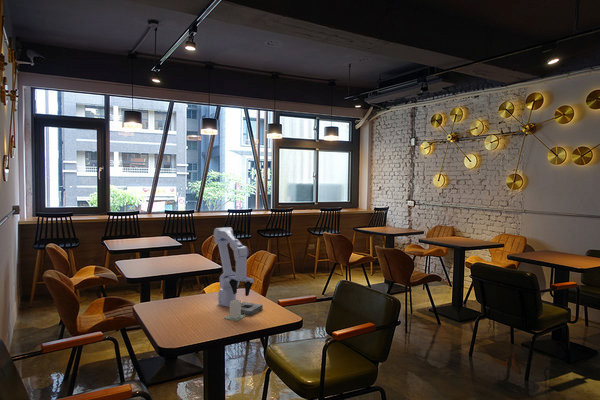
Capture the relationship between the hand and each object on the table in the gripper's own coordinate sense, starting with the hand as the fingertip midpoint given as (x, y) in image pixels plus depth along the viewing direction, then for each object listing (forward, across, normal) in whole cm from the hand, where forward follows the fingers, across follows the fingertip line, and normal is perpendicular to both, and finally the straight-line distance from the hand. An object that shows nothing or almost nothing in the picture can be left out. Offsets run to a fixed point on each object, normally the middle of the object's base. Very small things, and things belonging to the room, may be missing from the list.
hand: (241, 294), depth 212 cm
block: (+9, +2, -8) cm, 12 cm away
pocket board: (+9, +2, +3) cm, 10 cm away
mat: (+9, +2, -8) cm, 13 cm away
